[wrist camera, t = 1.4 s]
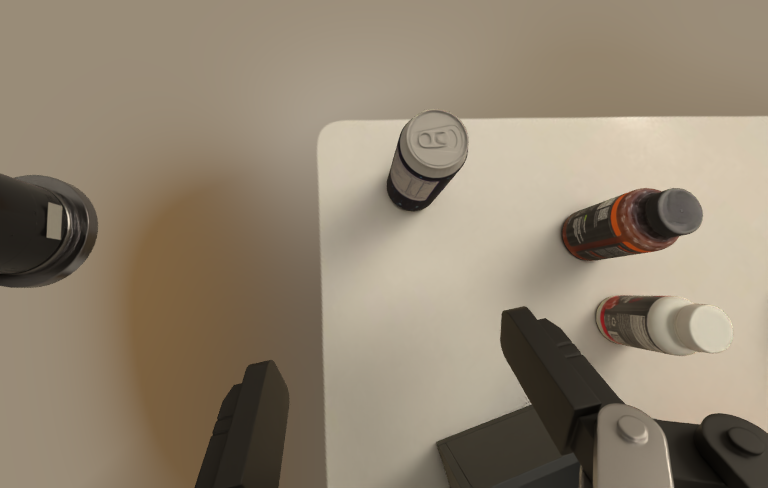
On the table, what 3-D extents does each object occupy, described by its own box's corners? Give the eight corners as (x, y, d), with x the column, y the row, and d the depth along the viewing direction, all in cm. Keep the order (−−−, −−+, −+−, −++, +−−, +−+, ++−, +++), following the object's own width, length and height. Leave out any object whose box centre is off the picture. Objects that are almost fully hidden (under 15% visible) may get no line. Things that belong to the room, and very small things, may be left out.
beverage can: (437, 211, 36) (478, 171, 24) (388, 214, 35) (405, 175, 23) (432, 163, 37) (468, 102, 25) (383, 166, 36) (397, 105, 24)
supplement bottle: (613, 256, 37) (725, 240, 26) (567, 265, 36) (661, 254, 25) (599, 207, 38) (701, 171, 26) (553, 215, 37) (639, 182, 26)
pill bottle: (627, 289, 36) (725, 288, 27) (645, 334, 36) (753, 350, 26) (587, 303, 36) (672, 307, 26) (604, 350, 35) (699, 372, 25)
